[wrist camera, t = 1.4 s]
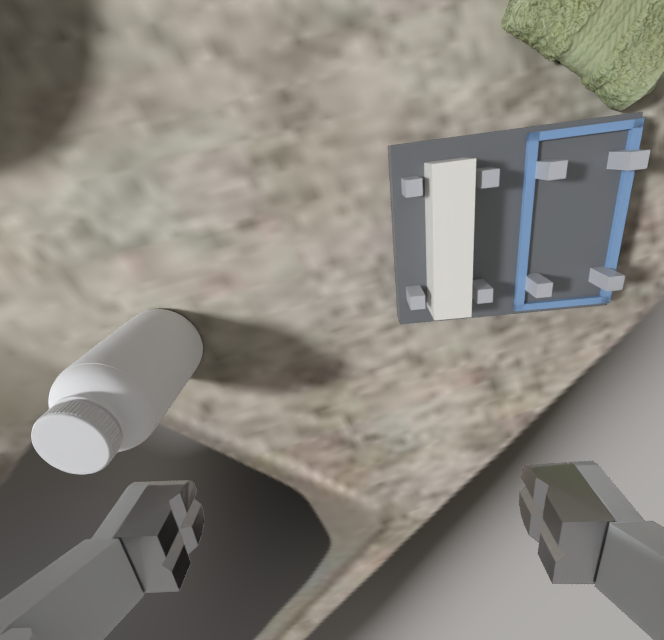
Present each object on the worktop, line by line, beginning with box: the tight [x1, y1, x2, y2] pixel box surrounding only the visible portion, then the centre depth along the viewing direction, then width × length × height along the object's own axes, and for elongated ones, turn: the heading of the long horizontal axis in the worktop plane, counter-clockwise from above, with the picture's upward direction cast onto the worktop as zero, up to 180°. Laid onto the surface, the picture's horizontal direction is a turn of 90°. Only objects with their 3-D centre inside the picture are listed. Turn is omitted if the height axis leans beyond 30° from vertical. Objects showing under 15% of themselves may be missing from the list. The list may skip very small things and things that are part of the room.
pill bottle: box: [31, 309, 203, 474], centre depth 32 cm, size 8×8×15 cm
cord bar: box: [424, 158, 476, 320], centre depth 30 cm, size 12×3×3 cm, turn 7°
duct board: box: [388, 112, 650, 324], centre depth 31 cm, size 15×18×4 cm
